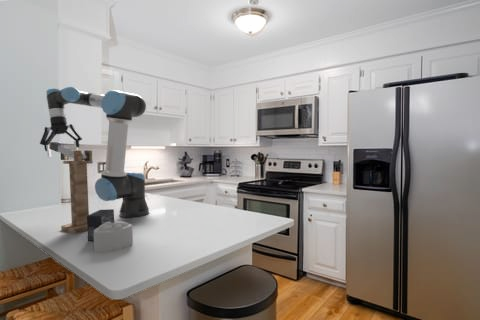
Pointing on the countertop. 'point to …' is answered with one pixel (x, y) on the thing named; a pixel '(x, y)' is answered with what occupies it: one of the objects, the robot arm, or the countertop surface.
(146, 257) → the countertop surface
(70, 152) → the lever
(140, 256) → the countertop surface
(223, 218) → the countertop surface
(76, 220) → the stand
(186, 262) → the countertop surface
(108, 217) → the small box
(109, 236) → the grey rounded container
